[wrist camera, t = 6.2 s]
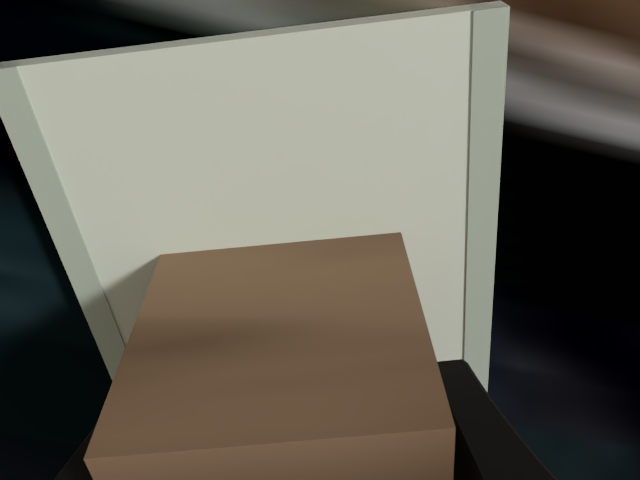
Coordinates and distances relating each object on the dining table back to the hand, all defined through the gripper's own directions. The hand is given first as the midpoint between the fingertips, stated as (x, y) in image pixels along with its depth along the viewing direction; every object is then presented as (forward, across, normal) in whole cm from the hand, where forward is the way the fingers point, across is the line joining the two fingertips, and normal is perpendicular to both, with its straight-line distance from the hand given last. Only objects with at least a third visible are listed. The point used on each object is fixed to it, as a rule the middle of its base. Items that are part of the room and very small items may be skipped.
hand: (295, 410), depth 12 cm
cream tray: (+2, 0, 0) cm, 2 cm away
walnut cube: (+2, 0, 0) cm, 2 cm away
